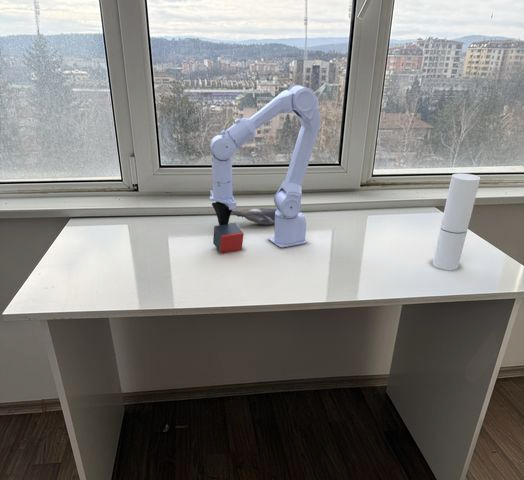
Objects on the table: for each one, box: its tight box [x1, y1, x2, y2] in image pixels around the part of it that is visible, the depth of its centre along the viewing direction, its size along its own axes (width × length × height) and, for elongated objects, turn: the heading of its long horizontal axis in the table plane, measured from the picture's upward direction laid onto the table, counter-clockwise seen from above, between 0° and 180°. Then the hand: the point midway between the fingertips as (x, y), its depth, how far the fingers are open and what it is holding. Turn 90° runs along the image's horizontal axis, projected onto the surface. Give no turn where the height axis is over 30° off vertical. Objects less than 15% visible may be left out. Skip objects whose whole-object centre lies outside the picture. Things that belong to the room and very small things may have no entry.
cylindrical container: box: [432, 172, 481, 271], centre depth 137 cm, size 7×7×25 cm
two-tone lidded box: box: [212, 222, 245, 255], centre depth 149 cm, size 7×6×6 cm
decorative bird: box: [231, 207, 277, 225], centre depth 170 cm, size 6×25×5 cm, turn 99°
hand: (223, 226), depth 150 cm, fingers closed
